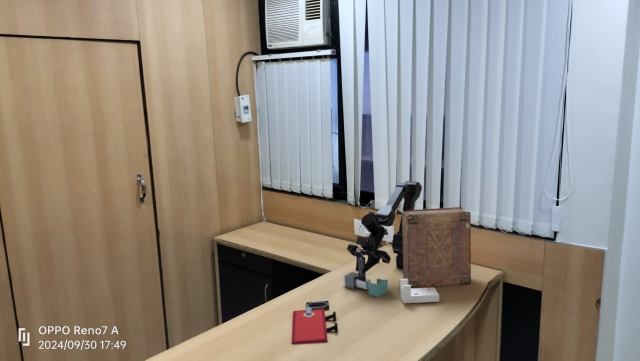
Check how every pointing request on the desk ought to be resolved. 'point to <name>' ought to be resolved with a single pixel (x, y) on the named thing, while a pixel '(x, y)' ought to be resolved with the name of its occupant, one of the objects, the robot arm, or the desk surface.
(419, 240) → the book
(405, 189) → the robot arm
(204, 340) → the desk surface
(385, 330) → the desk surface
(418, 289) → the bracket
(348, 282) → the outer sleeve
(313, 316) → the red board with handle
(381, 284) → the socket block
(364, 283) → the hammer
